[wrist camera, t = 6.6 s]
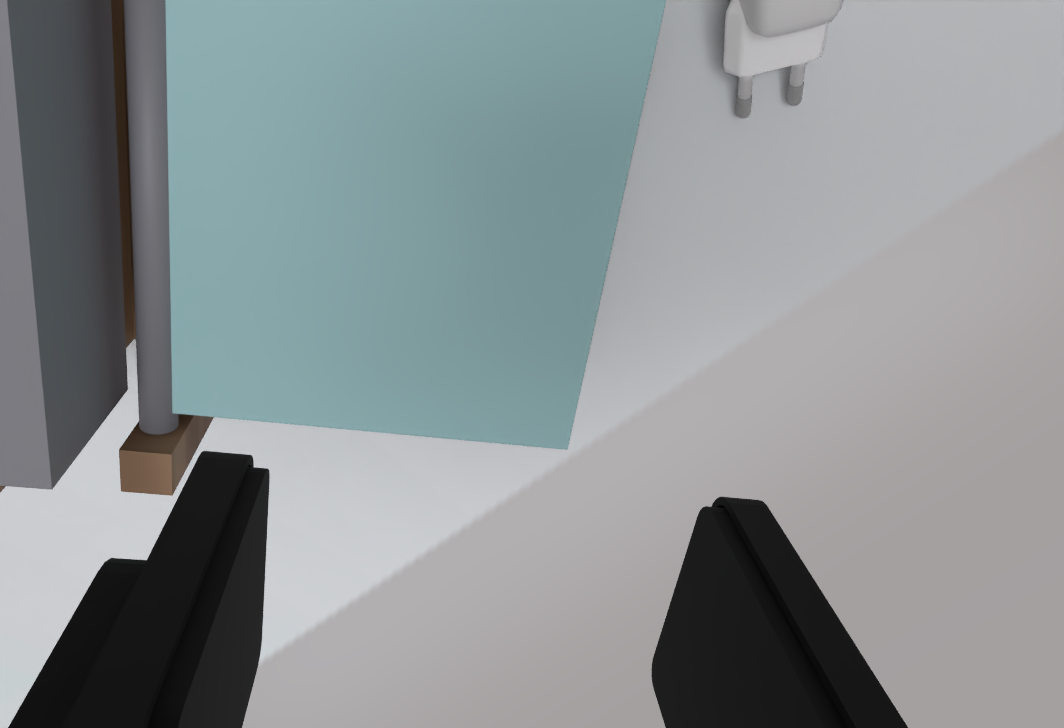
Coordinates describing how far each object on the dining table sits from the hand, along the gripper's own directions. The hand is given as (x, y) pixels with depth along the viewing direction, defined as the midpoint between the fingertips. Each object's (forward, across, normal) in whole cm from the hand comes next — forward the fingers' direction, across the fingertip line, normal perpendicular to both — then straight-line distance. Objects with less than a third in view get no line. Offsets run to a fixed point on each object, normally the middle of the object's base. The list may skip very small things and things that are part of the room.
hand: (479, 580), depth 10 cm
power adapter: (+28, -11, -10) cm, 31 cm away
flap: (+17, +9, 0) cm, 19 cm away
